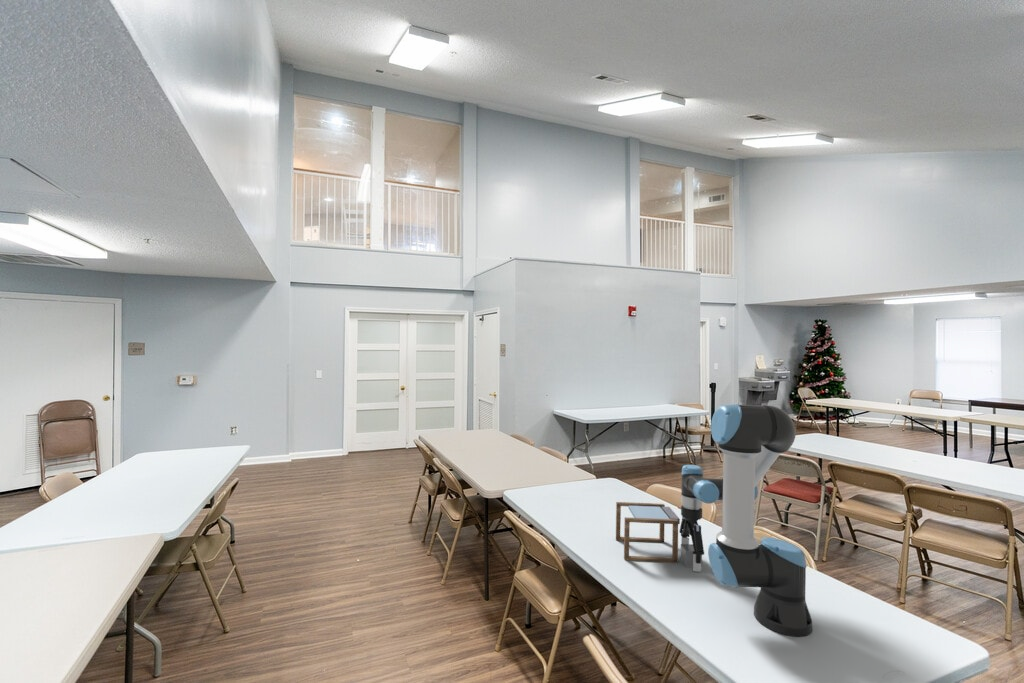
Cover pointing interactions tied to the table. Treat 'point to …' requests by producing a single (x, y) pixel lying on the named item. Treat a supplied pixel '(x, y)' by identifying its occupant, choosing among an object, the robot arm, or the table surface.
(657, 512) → the plate
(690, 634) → the table surface
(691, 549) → the gray cube
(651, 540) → the frame
